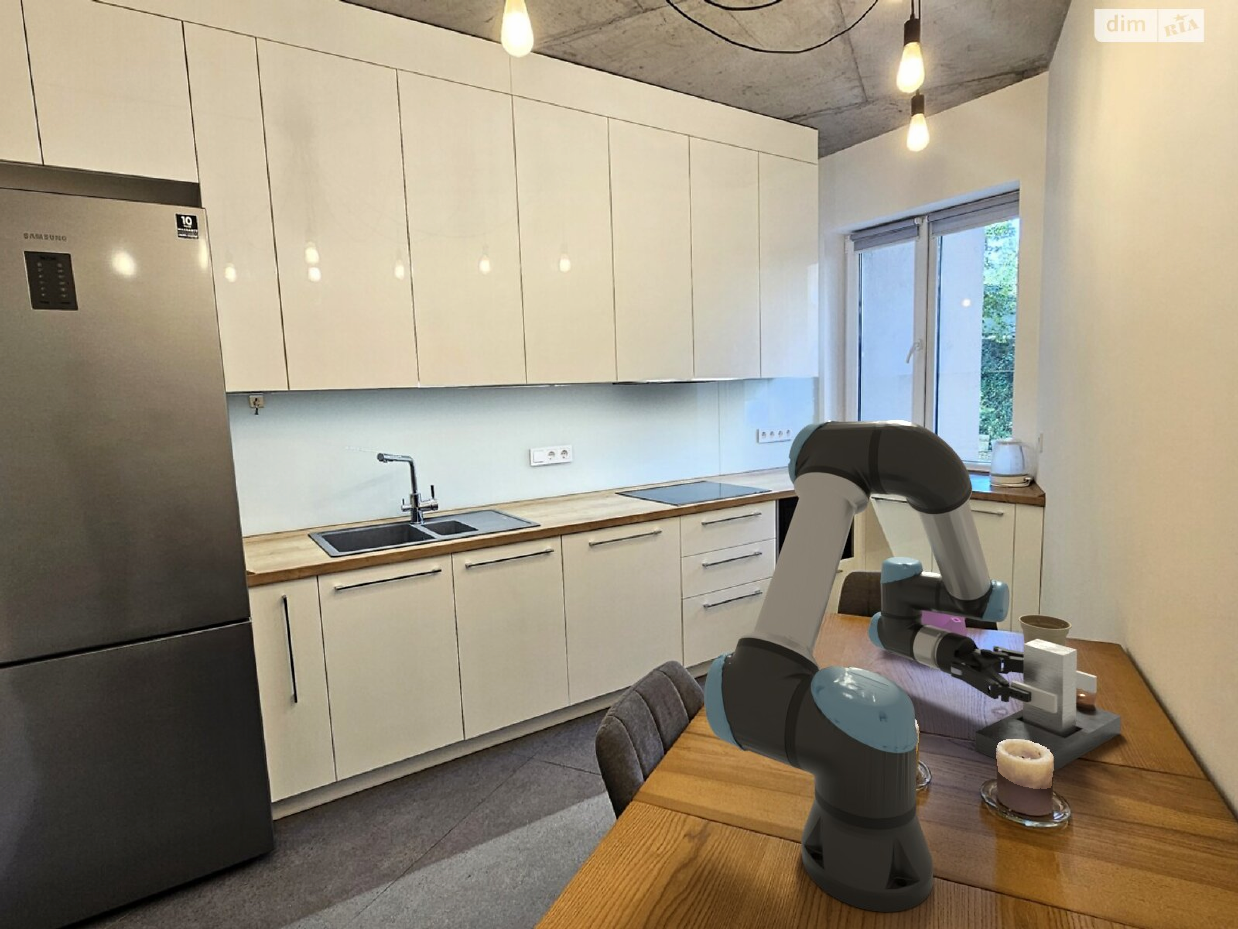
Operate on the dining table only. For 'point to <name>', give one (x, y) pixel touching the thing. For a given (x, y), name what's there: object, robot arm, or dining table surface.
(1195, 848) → the dining table surface
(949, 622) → the teakettle
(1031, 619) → the flower pot
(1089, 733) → the post stand
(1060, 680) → the white rectangular block
